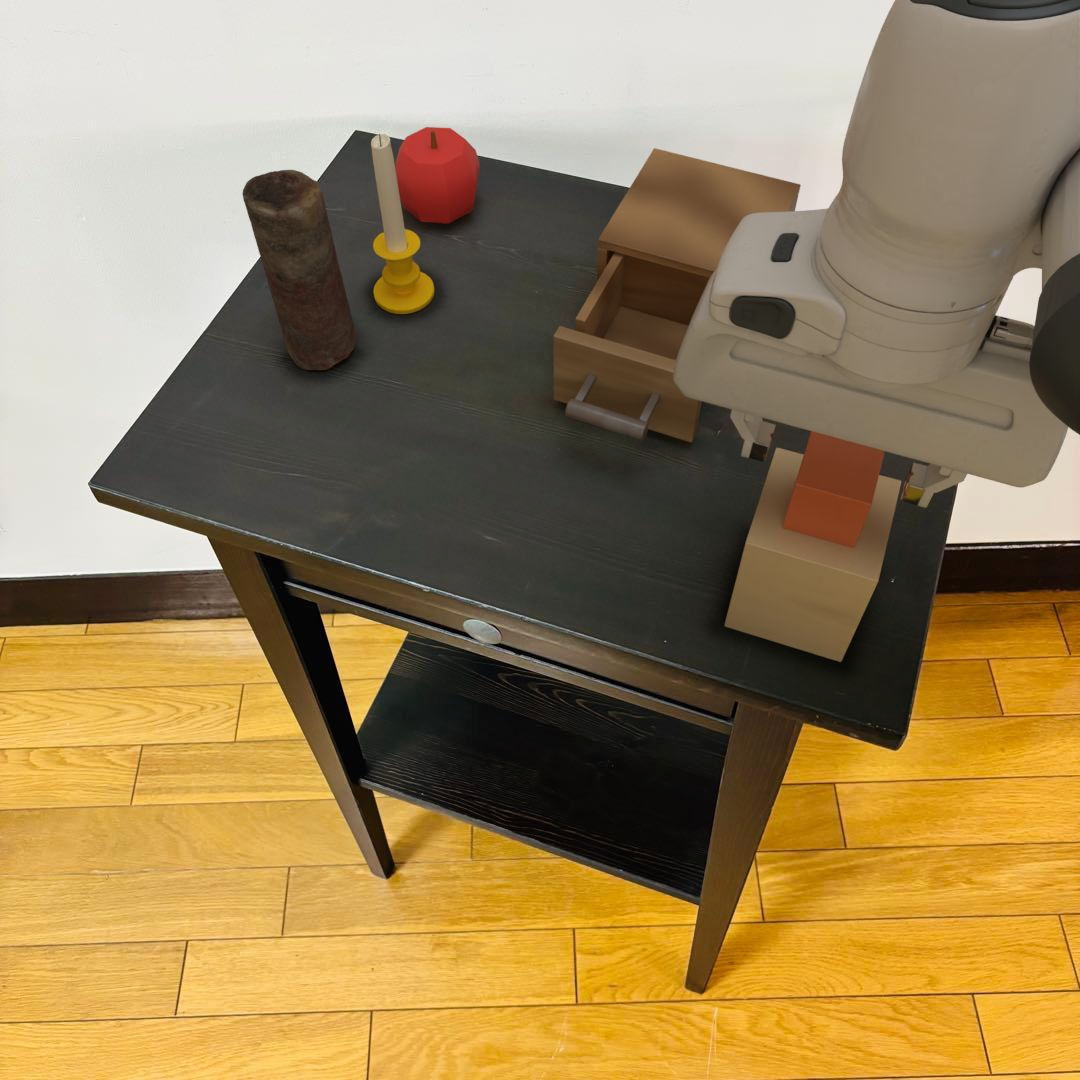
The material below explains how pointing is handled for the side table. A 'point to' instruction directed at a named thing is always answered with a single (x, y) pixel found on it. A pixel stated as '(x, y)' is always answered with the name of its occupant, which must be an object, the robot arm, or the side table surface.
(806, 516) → the block
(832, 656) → the stand
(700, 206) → the cabinet
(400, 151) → the apple
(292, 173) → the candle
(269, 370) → the side table surface
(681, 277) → the drawer
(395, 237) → the candle
